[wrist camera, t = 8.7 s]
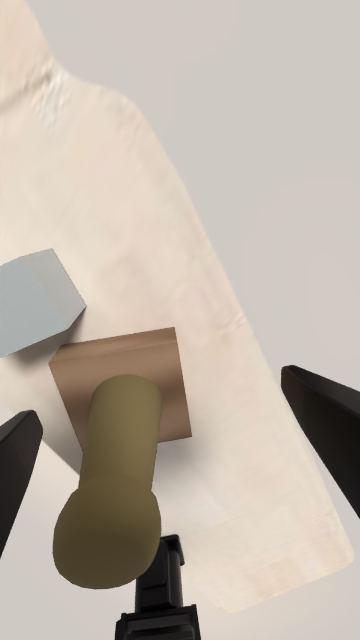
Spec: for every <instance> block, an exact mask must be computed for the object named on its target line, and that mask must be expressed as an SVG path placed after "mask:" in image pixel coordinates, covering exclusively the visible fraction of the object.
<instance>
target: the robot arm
mask: <svg viewBox="0 0 360 640" xmlns="http://www.w3.org/2000/svg"><path fill="white" fill-rule="evenodd" d="M281 388H282V391H283V393H284V395H285V397H286V399H287V401H288V403H289V405H290V407H291V409H292V411H293V413H294V415H295V417H296V419H297V421H298V423H299V425H300V427H301V428H302V430H303V432H304V433H305V435H306V437H307V438H308V439H309V441H310V443H311V444H312V446H313V447H314V449H315V451H316V452H317V453H318V455H319V457H320V458H321V460H322V461H323V463H324V464H325V466H326V467H327V469H328V470H329V472H330V474H331V475H332V477H333V478H334V480H335V481H336V483H337V484H338V486H339V488H340V489H341V491H342V492H343V494H344V495H345V497H346V498H347V500H348V501H349V503H350V505H351V506H352V508H353V509H354V511H355V512H356V514H357V515H358V517H359V518H360V392H359V391H357V390H354V389H352V388H350V387H347V386H345V385H342V384H340V383H337V382H334V381H332V380H330V379H327V378H325V377H322V376H320V375H317V374H315V373H312V372H310V371H307V370H305V369H303V368H300V367H297V366H295V365H289V366H284V367H282V370H281ZM42 435H43V427H42V425H41V422H40V420H39V418H38V416H37V414H36V412H35V411H34V410H28V411H22V412H20V413H18V414H17V415H15V416H14V417H13V418H11V419H10V420H9V421H7V422H6V423H4V424H3V425H1V426H0V558H1V555H2V552H3V550H4V547H5V545H6V542H7V539H8V536H9V534H10V531H11V529H12V526H13V523H14V521H15V518H16V516H17V513H18V510H19V508H20V505H21V502H22V500H23V497H24V494H25V492H26V489H27V487H28V484H29V481H30V478H31V474H32V471H33V468H34V464H35V460H36V457H37V453H38V450H39V446H40V442H41V439H42ZM184 564H185V562H184V556H183V552H182V548H181V543H180V539H179V536H177V535H174V536H169V537H164V538H160V541H159V546H158V549H157V553H156V555H155V557H154V559H153V561H152V563H151V565H150V566H149V568H148V569H147V570H146V571H145V572H144V573H143V574H142V575H140V576H139V577H138V578H136V595H135V613H129V614H126V613H122V614H121V619H120V620H119V621H117V622H116V630H115V640H201V636H200V629H199V623H198V615H197V608H196V604H192V605H191V606H185V607H183V597H182V584H181V571H180V566H183V565H184Z"/></svg>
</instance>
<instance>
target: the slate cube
mask: <svg viewBox="0 0 360 640" xmlns="http://www.w3.org/2000/svg"><path fill="white" fill-rule="evenodd" d="M85 307H86V304H85V302H84V300H83V299H82V297H81V295H80V294H79V292H78V290H77V289H76V287H75V285H74V284H73V282H72V280H71V278H70V277H69V275H68V273H67V272H66V270H65V268H64V267H63V265H62V263H61V262H60V260H59V258H58V257H57V255H56V253H55V252H54V250H53V248H51V249H47V250H43V251H40V252H36V253H32V254H29V255H25V256H21V257H19V258H17V259H14V260H12V261H10V262H8V263H6V264H3V265H1V266H0V358H2V357H4V356H6V355H9V354H11V353H13V352H16V351H18V350H20V349H23V348H25V347H27V346H30V345H32V344H34V343H37V342H39V341H41V340H44V339H46V338H48V337H50V336H53V335H55V334H57V333H60V332H62V331H64V330H67V329H68V328H69V327H70V326H71V324H72V323H73V322H74V321H75V319H76V318H77V317H78V316H79V314H80V313H81V312H82V310H83V309H84V308H85Z"/></svg>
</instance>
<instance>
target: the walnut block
mask: <svg viewBox="0 0 360 640" xmlns="http://www.w3.org/2000/svg"><path fill="white" fill-rule="evenodd" d="M48 364H49V367H50V369H51V372H52V374H53V377H54V380H55V382H56V385H57V387H58V390H59V392H60V395H61V397H62V400H63V402H64V405H65V408H66V410H67V413H68V415H69V418H70V420H71V423H72V425H73V428H74V430H75V433H76V436H77V438H78V441H79V443H80V446H81V448H82V451H83V452H84V445H85V439H86V432H87V425H88V418H89V411H90V405H91V398H92V395H93V393H94V391H95V389H96V388H97V387H98V386H99V385H100V384H101V383H102V382H103V381H105V380H107V379H109V378H111V377H113V376H118V375H124V374H129V375H138V376H141V377H143V378H145V379H148V380H149V381H151V382H152V383H153V384H154V385H156V386H157V388H158V389H159V391H160V393H161V394H162V399H163V409H162V416H161V423H160V430H159V437H158V443H161V442H166V441H172V440H177V439H183V438H188V437H192V433H191V427H190V420H189V414H188V407H187V401H186V395H185V388H184V382H183V375H182V369H181V363H180V356H179V350H178V344H177V338H176V333H175V328H174V327H171V328H165V329H159V330H153V331H147V332H141V333H134V334H128V335H122V336H116V337H110V338H104V339H98V340H92V341H86V342H79V343H73V344H67V345H62V346H61V347H60V348H59V350H58V351H57V352H56V354H55V355H54V356H53V358H52V359H51V360H50V362H49V363H48Z"/></svg>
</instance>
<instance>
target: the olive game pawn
mask: <svg viewBox="0 0 360 640" xmlns="http://www.w3.org/2000/svg"><path fill="white" fill-rule="evenodd" d="M162 409H163V399H162V394H161V393H160V391H159V389H158V388H157V386H156V385H154V384H153V383H152V382H151V381H149V380H148V379H145V378H143V377H141V376H138V375H129V374H124V375H118V376H113V377H111V378H109V379H107V380H105V381H103V382H102V383H101V384H100V385H99V386H98V387H97V388H96V389H95V391H94V393H93V395H92V398H91V405H90V411H89V418H88V425H87V432H86V439H85V445H84V452H83V459H82V466H81V472H80V480H79V486H78V489H77V490H75V492H73V493H72V494H71V496H70V497H69V499H68V501H67V502H66V504H65V506H64V508H63V509H62V511H61V513H60V515H59V517H58V520H57V523H56V526H55V529H54V539H53V557H54V562H55V566H56V568H57V570H58V572H59V573H60V574H61V575H62V576H63V577H64V578H66V579H67V580H68V581H70V582H71V583H72V584H75V585H77V586H80V587H83V588H89V589H109V588H115V587H119V586H122V585H125V584H127V583H130V582H131V581H133V580H134V579H136V578H138V577H139V576H140V575H142V574H143V573H144V572H145V571H146V570H147V569H148V568H149V566H150V565H151V563H152V561H153V559H154V557H155V555H156V553H157V549H158V546H159V541H160V536H161V516H160V511H159V507H158V503H157V499H156V496H155V495H154V494H153V493H152V491H151V488H152V481H153V473H154V466H155V459H156V452H157V445H158V437H159V430H160V423H161V416H162Z"/></svg>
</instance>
